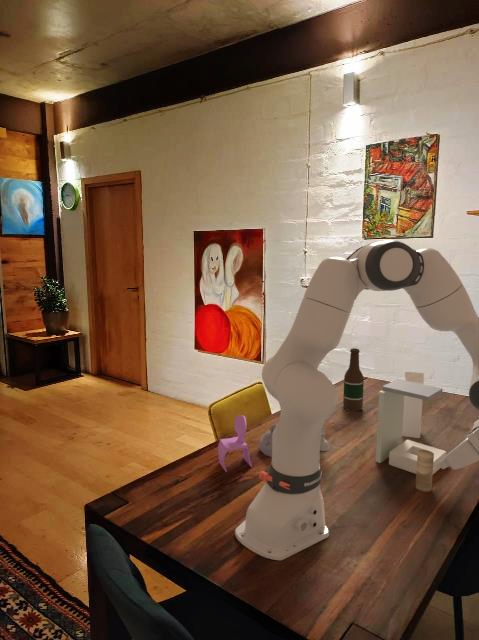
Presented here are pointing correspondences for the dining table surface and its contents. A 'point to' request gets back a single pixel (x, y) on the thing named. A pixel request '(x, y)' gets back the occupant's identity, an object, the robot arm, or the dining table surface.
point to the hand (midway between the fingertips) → (448, 459)
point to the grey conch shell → (267, 442)
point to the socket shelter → (401, 426)
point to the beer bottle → (353, 383)
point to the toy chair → (235, 442)
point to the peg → (424, 470)
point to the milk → (412, 408)
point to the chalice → (324, 443)
